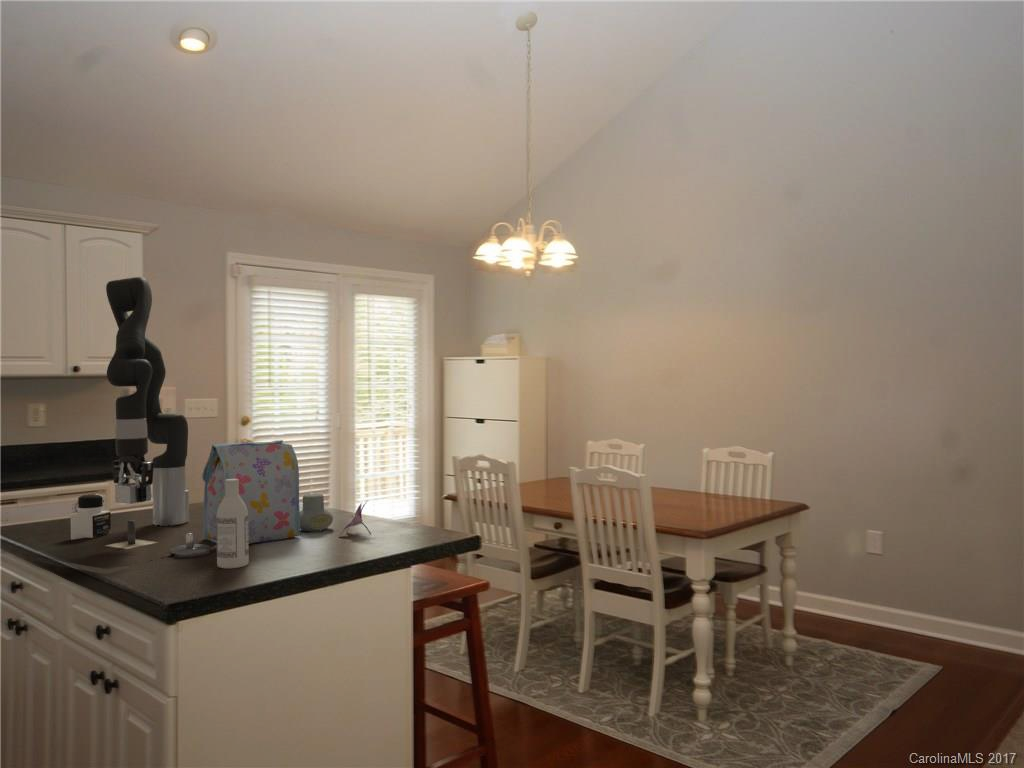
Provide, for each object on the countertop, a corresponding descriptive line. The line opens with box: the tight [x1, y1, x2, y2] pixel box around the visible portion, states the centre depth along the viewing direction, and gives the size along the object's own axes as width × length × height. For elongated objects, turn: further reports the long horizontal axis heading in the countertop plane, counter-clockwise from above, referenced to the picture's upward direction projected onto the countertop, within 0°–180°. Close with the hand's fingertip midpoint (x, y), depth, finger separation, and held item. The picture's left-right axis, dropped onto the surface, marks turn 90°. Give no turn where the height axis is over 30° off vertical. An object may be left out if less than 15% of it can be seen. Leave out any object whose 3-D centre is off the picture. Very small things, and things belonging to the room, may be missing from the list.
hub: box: [169, 532, 210, 559], centre depth 200 cm, size 9×9×5 cm
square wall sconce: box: [114, 481, 152, 505], centre depth 208 cm, size 6×6×4 cm
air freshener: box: [300, 493, 334, 533], centre depth 230 cm, size 11×8×10 cm
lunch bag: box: [201, 439, 301, 544], centre depth 217 cm, size 22×17×26 cm
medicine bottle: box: [70, 493, 112, 541], centre depth 221 cm, size 7×7×12 cm
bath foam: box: [216, 479, 250, 570], centre depth 186 cm, size 7×7×20 cm
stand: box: [104, 519, 159, 550], centre depth 208 cm, size 9×9×7 cm
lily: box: [339, 501, 372, 538], centre depth 222 cm, size 12×12×10 cm
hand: (133, 500), depth 208 cm, fingers closed on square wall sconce, 6 cm apart
